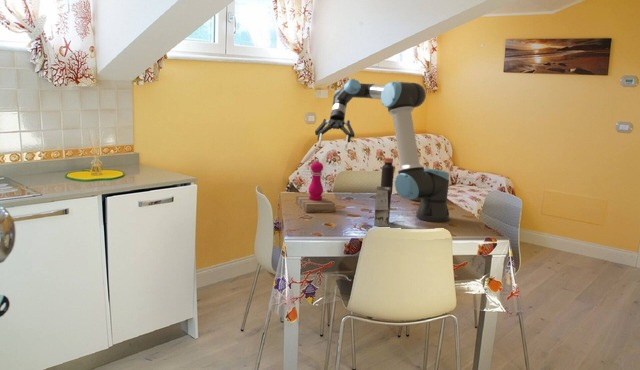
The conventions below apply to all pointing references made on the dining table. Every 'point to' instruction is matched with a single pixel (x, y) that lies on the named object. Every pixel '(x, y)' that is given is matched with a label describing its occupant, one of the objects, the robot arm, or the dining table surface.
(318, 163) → the pepper mill
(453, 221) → the dining table surface
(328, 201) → the wooden slatted trivet
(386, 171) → the bottle
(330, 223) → the dining table surface
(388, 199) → the coffee box
